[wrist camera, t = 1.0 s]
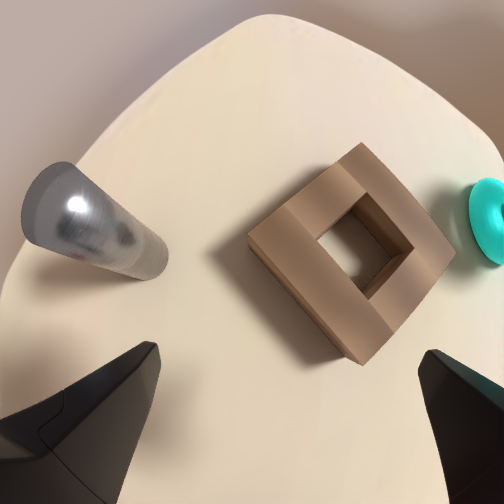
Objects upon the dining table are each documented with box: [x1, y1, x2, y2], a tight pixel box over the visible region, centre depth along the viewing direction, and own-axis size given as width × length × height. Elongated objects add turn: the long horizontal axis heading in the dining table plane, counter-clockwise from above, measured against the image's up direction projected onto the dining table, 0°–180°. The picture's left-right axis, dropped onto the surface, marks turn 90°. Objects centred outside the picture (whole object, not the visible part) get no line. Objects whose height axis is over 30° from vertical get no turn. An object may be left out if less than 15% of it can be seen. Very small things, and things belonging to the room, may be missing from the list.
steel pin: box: [21, 162, 168, 280], centre depth 16 cm, size 4×4×13 cm
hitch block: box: [247, 142, 456, 366], centre depth 20 cm, size 12×12×4 cm
